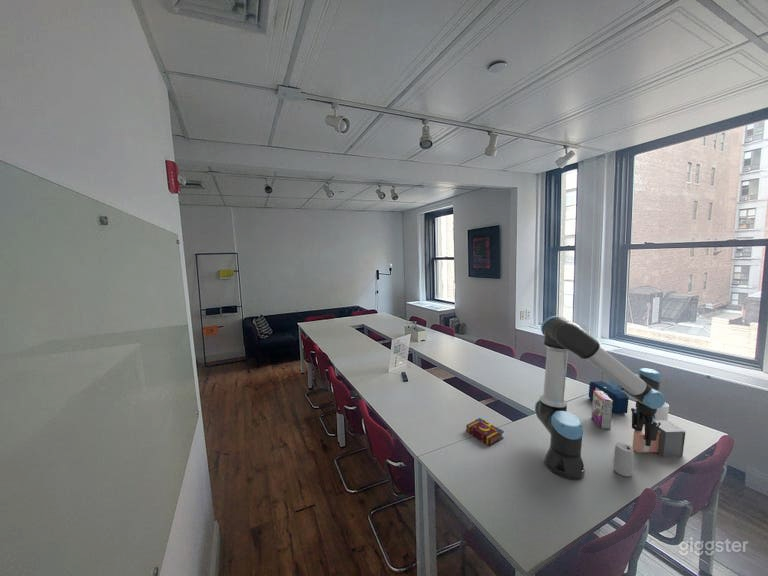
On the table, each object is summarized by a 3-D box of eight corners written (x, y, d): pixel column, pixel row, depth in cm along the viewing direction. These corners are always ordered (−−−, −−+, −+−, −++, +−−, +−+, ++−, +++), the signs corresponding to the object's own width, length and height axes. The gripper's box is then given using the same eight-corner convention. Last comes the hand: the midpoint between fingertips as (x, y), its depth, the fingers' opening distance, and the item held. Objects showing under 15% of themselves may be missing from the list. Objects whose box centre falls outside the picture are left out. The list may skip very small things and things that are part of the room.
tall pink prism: (637, 452, 142) (639, 434, 141) (632, 448, 145) (633, 430, 144) (671, 451, 142) (673, 433, 141) (664, 447, 145) (667, 430, 144)
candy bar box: (590, 417, 172) (592, 390, 170) (600, 417, 171) (602, 390, 169) (600, 428, 161) (603, 399, 159) (611, 429, 160) (613, 400, 158)
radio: (586, 398, 193) (588, 368, 191) (598, 397, 194) (601, 367, 192) (614, 416, 173) (617, 383, 170) (628, 415, 174) (631, 382, 171)
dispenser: (663, 456, 139) (666, 431, 138) (646, 444, 148) (648, 420, 147) (682, 456, 139) (685, 431, 138) (664, 443, 148) (666, 420, 147)
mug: (644, 410, 178) (646, 395, 177) (670, 421, 167) (672, 404, 166) (636, 413, 175) (638, 397, 173) (662, 424, 164) (664, 407, 162)
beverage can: (633, 480, 126) (635, 453, 125) (613, 474, 129) (616, 448, 128) (630, 470, 131) (633, 445, 130) (612, 465, 135) (614, 440, 133)
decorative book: (489, 447, 148) (489, 438, 148) (464, 431, 162) (464, 422, 161) (503, 439, 155) (503, 430, 154) (477, 424, 168) (478, 415, 167)
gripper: (671, 411, 132) (665, 459, 136) (639, 393, 148) (635, 437, 151) (654, 411, 132) (649, 460, 135) (624, 393, 148) (620, 437, 151)
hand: (641, 448), depth 143 cm, fingers closed on tall pink prism, 3 cm apart
